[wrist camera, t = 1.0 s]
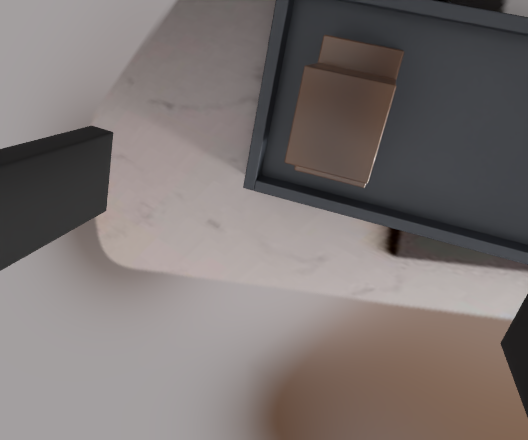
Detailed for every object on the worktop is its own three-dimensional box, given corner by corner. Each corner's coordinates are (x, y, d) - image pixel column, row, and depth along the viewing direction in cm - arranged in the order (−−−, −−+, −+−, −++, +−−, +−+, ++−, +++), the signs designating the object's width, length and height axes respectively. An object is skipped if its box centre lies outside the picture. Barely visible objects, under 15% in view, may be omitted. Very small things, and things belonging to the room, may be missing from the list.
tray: (252, 179, 34) (242, 188, 32) (289, -23, 29) (280, -28, 26) (556, 260, 30) (569, 276, 28) (665, 46, 25) (690, 46, 23)
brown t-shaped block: (304, 157, 31) (278, 189, 24) (331, 35, 28) (310, 31, 21) (367, 173, 31) (359, 211, 24) (403, 50, 28) (407, 51, 20)
